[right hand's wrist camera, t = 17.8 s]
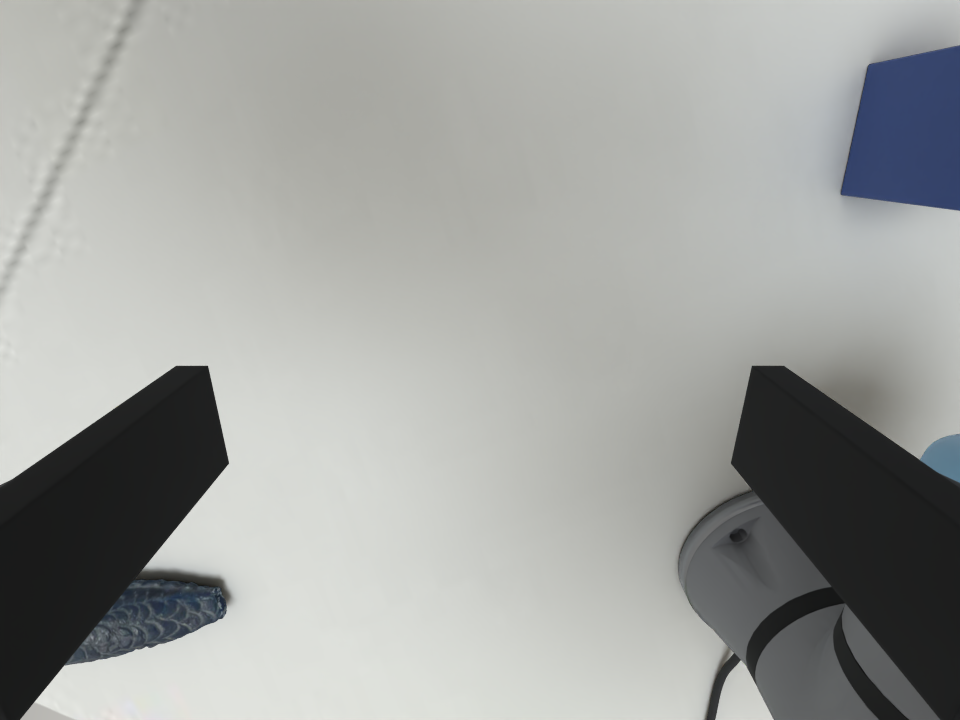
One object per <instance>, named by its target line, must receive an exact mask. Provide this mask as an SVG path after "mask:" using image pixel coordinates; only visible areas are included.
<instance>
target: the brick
mask: <svg viewBox="0 0 960 720" xmlns="http://www.w3.org/2000/svg"><path fill="white" fill-rule="evenodd" d="M841 195H845V196H852V197H860V198H868V199H875V200H883V201H890V202H898V203H905V204H913V205H921V206H928V207H936V208H943V209H951V210H958V211H960V45H959V46H954V47H949V48H945V49H940V50H935V51H930V52H926V53H921V54H916V55H911V56H907V57H902V58H897V59H892V60H888V61H883V62H878V63H873V64H870V65H869V66H868V70H867V75H866V80H865V84H864V89H863V94H862V98H861V103H860V108H859V112H858V117H857V122H856V126H855V131H854V136H853V140H852V145H851V150H850V154H849V159H848V164H847V168H846V173H845V178H844V182H843V187H842V192H841Z"/></svg>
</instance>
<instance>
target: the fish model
mask: <svg viewBox="0 0 960 720" xmlns="http://www.w3.org/2000/svg"><path fill="white" fill-rule="evenodd" d="M226 609H227V607H226V601H225V598H224V597H223V596H222V592H221V588H220V587H209V586H198V585H197V584H196V583H194V582H190V583H184V582H181V581H166V580H163V579H160V580H144V579H142V580H133V582H132V583H131V584H130V585H129V587H128V588H127V589H126V590H125V591H124V593H123V594H122V595H121V596H120V598H119V599H118V600H117V601H116V602H115V604H114V605H113V606H112V607H111V609H110V610H109V611H108V612H107V613H106V615H105V616H104V617H103V618H102V620H101V621H100V622H99V623H98V625H97V626H96V627H95V628H94V629H93V631H92V632H91V633H90V634H89V636H88V637H87V638H86V639H85V640H84V642H83V643H82V644H81V645H80V647H79V648H78V649H77V650H76V651H75V653H74V654H73V655H72V656H71V658H70V659H69V660H68V661H67V663H66V664H65V665H70V664H77V663H84V662H92V661H95V660H98V659H107V658H110V657H117V656H120V655H123V654H126V653H128V652H132V651H134V650H135V649H142V648H144V647H146V646H147V647H148V648H152V647H154V646H156V645H158V644H163V643H166V642H169V641H173V640H175V639H177V638H181V637H183V636H185V635H186V634H188V633H192V632H194V631H196V630H198V629H199V628H201V627H203V626H205V625H207V624H210V623H214V622H216V621H217V620H218V619H222V618H223V617H224V616H225V614H226V611H227V610H226Z"/></svg>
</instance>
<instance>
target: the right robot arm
mask: <svg viewBox="0 0 960 720" xmlns="http://www.w3.org/2000/svg"><path fill="white" fill-rule="evenodd" d="M228 464H229V461H228V456H227V452H226V447H225V442H224V438H223V433H222V429H221V424H220V419H219V415H218V410H217V405H216V401H215V396H214V391H213V387H212V382H211V378H210V373H209V368H208V366H175V367H174V368H172V369H171V370H170V371H168V372H167V373H165V374H164V375H162V376H161V377H159V378H158V379H157V380H155V381H154V382H152V383H151V384H149V385H148V386H146V387H145V388H144V389H142V390H141V391H139V392H138V393H136V394H135V395H133V396H132V397H131V398H129V399H128V400H126V401H125V402H123V403H122V404H120V405H119V406H118V407H116V408H115V409H113V410H112V411H110V412H109V413H107V414H106V415H105V416H103V417H102V418H100V419H99V420H97V421H96V422H94V423H93V424H92V425H90V426H89V427H87V428H86V429H84V430H83V431H81V432H80V433H79V434H77V435H76V436H74V437H73V438H71V439H70V440H68V441H67V442H66V443H64V444H63V445H61V446H60V447H58V448H57V449H55V450H54V451H53V452H51V453H50V454H48V455H47V456H45V457H44V458H42V459H41V460H40V461H38V462H37V463H35V464H34V465H32V466H31V467H29V468H28V469H27V470H25V471H24V472H22V473H21V474H19V475H18V476H16V477H15V478H14V479H12V480H10V481H8V482H6V483H4V484H2V485H0V720H20V719H21V718H22V716H23V715H24V714H25V713H26V711H27V710H28V709H29V708H30V707H31V705H32V704H33V703H34V702H35V701H36V699H37V698H38V697H39V696H40V694H41V693H42V692H43V691H44V689H45V688H46V687H47V686H48V685H49V683H50V682H51V681H52V680H53V678H54V677H55V676H56V675H57V674H58V672H59V671H60V670H61V669H62V667H63V666H64V665H65V664H66V663H67V661H68V660H69V659H70V658H71V656H72V655H73V654H74V653H75V651H76V650H77V649H78V648H79V647H80V645H81V644H82V643H83V642H84V640H85V639H86V638H87V637H88V636H89V634H90V633H91V632H92V631H93V629H94V628H95V627H96V626H97V625H98V623H99V622H100V621H101V620H102V618H103V617H104V616H105V615H106V613H107V612H108V611H109V610H110V609H111V607H112V606H113V605H114V604H115V602H116V601H117V600H118V599H119V598H120V596H121V595H122V594H123V593H124V591H125V590H126V589H127V588H128V587H129V585H130V584H131V583H132V582H133V580H134V579H135V578H136V577H137V575H138V574H139V573H140V572H141V571H142V569H143V568H144V567H145V566H146V564H147V563H148V562H149V561H150V560H151V558H152V557H153V556H154V555H155V553H156V552H157V551H158V550H159V549H160V547H161V546H162V545H163V544H164V542H165V541H166V540H167V539H168V537H169V536H170V535H171V534H172V533H173V531H174V530H175V529H176V528H177V526H178V525H179V524H180V523H181V522H182V520H183V519H184V518H185V517H186V515H187V514H188V513H189V512H190V511H191V509H192V508H193V507H194V506H195V504H196V503H197V502H198V501H199V499H200V498H201V497H202V496H203V495H204V493H205V492H206V491H207V490H208V488H209V487H210V486H211V485H212V484H213V482H214V481H215V480H216V479H217V477H218V476H219V475H220V474H221V472H222V471H223V470H224V469H225V468H226V466H227V465H228ZM731 464H732V465H733V466H734V468H735V469H736V470H737V471H738V472H739V474H740V475H741V476H742V477H743V479H744V480H745V481H746V482H747V484H748V485H749V486H750V487H751V488H752V490H753V491H754V492H755V493H756V495H757V496H758V497H759V498H760V499H761V501H762V502H763V503H764V504H765V506H766V507H767V508H768V509H769V511H770V512H771V513H772V514H773V515H774V517H775V518H776V519H777V520H778V522H779V523H780V524H781V525H782V526H783V528H784V529H785V530H786V531H787V533H788V534H789V535H790V536H791V537H792V539H793V540H794V541H795V542H796V544H797V545H798V546H799V547H800V549H801V550H802V551H803V552H804V553H805V555H806V556H807V557H808V558H809V560H810V561H811V562H812V563H813V564H814V566H815V567H816V568H817V569H818V571H819V572H820V573H821V574H822V575H823V577H824V578H825V579H826V580H827V582H828V583H829V584H830V585H831V587H832V588H833V589H834V590H835V591H836V593H837V594H838V595H839V596H840V598H841V599H842V600H843V601H844V602H845V604H846V605H847V606H848V607H849V609H850V610H851V611H852V612H853V613H854V615H855V616H856V617H857V618H858V620H859V621H860V622H861V623H862V625H863V626H864V627H865V628H866V629H867V631H868V632H869V633H870V634H871V636H872V637H873V638H874V639H875V640H876V642H877V643H878V644H879V645H880V647H881V648H882V649H883V650H884V651H885V653H886V654H887V655H888V656H889V658H890V659H891V660H892V661H893V663H894V664H895V665H896V666H897V667H898V669H899V670H900V671H901V672H902V674H903V675H904V676H905V677H906V678H907V680H908V681H909V682H910V683H911V685H912V686H913V687H914V688H915V689H916V691H917V692H918V693H919V694H920V696H921V697H922V698H923V699H924V701H925V702H926V703H927V704H928V705H929V707H930V708H931V709H932V710H933V712H934V713H935V714H936V715H937V716H938V718H939V719H940V720H960V483H959V482H957V481H955V480H953V479H951V478H948V477H946V476H944V475H942V474H940V473H938V472H936V471H935V470H933V469H932V468H931V467H929V466H928V465H926V464H925V463H923V462H922V461H920V460H919V459H918V458H916V457H915V456H913V455H912V454H910V453H909V452H907V451H906V450H905V449H903V448H902V447H900V446H899V445H897V444H896V443H894V442H893V441H892V440H890V439H889V438H887V437H886V436H884V435H883V434H881V433H880V432H879V431H877V430H876V429H874V428H873V427H871V426H870V425H868V424H867V423H866V422H864V421H863V420H861V419H860V418H858V417H857V416H855V415H854V414H853V413H851V412H850V411H848V410H847V409H845V408H844V407H842V406H841V405H840V404H838V403H837V402H835V401H834V400H832V399H831V398H829V397H828V396H827V395H825V394H824V393H822V392H821V391H819V390H818V389H816V388H815V387H814V386H812V385H811V384H809V383H808V382H806V381H805V380H803V379H802V378H801V377H799V376H798V375H796V374H795V373H793V372H792V371H790V370H789V369H788V368H786V367H785V366H752V368H751V373H750V378H749V382H748V387H747V391H746V396H745V401H744V405H743V410H742V415H741V419H740V424H739V429H738V433H737V438H736V442H735V447H734V452H733V456H732V461H731Z"/></svg>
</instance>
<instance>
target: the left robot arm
mask: <svg viewBox="0 0 960 720" xmlns="http://www.w3.org/2000/svg"><path fill="white" fill-rule="evenodd" d="M920 461H922V462H923V463H925V464H926V465H928V466H929V467H931V468H932V469H933V470H935V471H936V472H938V473H940V474H942V475H944V476H946V477H948V478H951V479H953V480H955V481H957V482H959V483H960V434H956V435H951V436H947V437H943V438H941V439H939V440H937V441H935V442H934V443H932V444H931V445H930V446H929V447H928V448H927V449H926V451H925V452H924V454H923V456H922V457H921V459H920ZM678 571H679V578H680V582H681V585H682V587H683V590H684V592H685V594H686V596H687V598H688V600H689V602H690V604H691V606H692V608H693V609H694V610H695V612H696V613H697V614H698V615H699V617H700V618H701V619H702V620H703V621H704V622H705V623H706V624H707V625H709V626H710V627H711V628H712V629H713V630H714V631H715V632H716V633H717V635H718V636H719V637H720V638H721V639H722V640H723V641H724V642H725V643H726V644H727V646H728V647H729V648H730V649H731V650H732V651H733V652H734V654H733V655H732V656H731V658H730V659H729V660H728V661H727V662H726V663H725V664H724V666H723V667H722V669H721V670H720V672H719V674H718V677H717V679H716V682H715V685H714V688H713V692H712V697H711V702H710V707H709V712H708V717H707V720H715V718H716V713H717V708H718V703H719V698H720V694H721V690H722V687H723V684H724V682H725V679H726V677H727V676H728V674H729V673H730V671H731V670H732V669H733V668H734V667H735V666H736V665H737V664H738V663H739V662H740V660H742V661H743V663H744V664H745V665H746V666H747V668H748V670H749V672H750V674H751V676H752V678H753V680H754V682H755V683H756V685H757V687H758V690H759V692H760V694H761V696H762V698H763V699H764V701H765V703H766V705H767V707H768V709H769V711H770V713H771V715H772V717H773V719H774V720H940V719H939V718H938V716H937V715H936V714H935V713H934V712H933V710H932V709H931V708H930V707H929V705H928V704H927V703H926V702H925V701H924V699H923V698H922V697H921V696H920V694H919V693H918V692H917V691H916V689H915V688H914V687H913V686H912V685H911V683H910V682H909V681H908V680H907V678H906V677H905V676H904V675H903V674H902V672H901V671H900V670H899V669H898V667H897V666H896V665H895V664H894V663H893V661H892V660H891V659H890V658H889V656H888V655H887V654H886V653H885V651H884V650H883V649H882V648H881V647H880V645H879V644H878V643H877V642H876V640H875V639H874V638H873V637H872V636H871V634H870V633H869V632H868V631H867V629H866V628H865V627H864V626H863V625H862V623H861V622H860V621H859V620H858V618H857V617H856V616H855V615H854V613H853V612H852V611H851V610H850V609H849V607H848V606H847V605H846V604H845V602H844V601H843V600H842V599H841V598H840V596H839V595H838V594H837V593H836V591H835V590H834V589H833V588H832V587H831V585H830V584H829V583H828V582H827V580H826V579H825V578H824V577H823V575H822V574H821V573H820V572H819V571H818V569H817V568H816V567H815V566H814V564H813V563H812V562H811V561H810V560H809V558H808V557H807V556H806V555H805V553H804V552H803V551H802V550H801V549H800V547H799V546H798V545H797V544H796V542H795V541H794V540H793V539H792V537H791V536H790V535H789V534H788V533H787V531H786V530H785V529H784V528H783V526H782V525H781V524H780V523H779V522H778V520H777V519H776V518H775V517H774V515H773V514H772V513H771V512H770V511H769V509H768V508H767V507H766V506H765V504H764V503H763V502H762V501H761V499H760V498H759V497H758V496H757V495H756V493H755V492H754V491H753V492H749V493H746V494H743V495H741V496H739V497H736V498H734V499H732V500H730V501H728V502H726V503H724V504H723V505H721V506H719V507H718V508H716V509H715V510H714V511H712V512H711V513H710V514H708V515H707V516H706V517H705V518H704V519H703V520H702V521H701V522H700V523H699V524H698V525H697V526H696V527H695V528H694V530H693V531H692V532H691V534H690V535H689V537H688V538H687V540H686V542H685V544H684V546H683V548H682V551H681V554H680V559H679V568H678Z"/></svg>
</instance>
